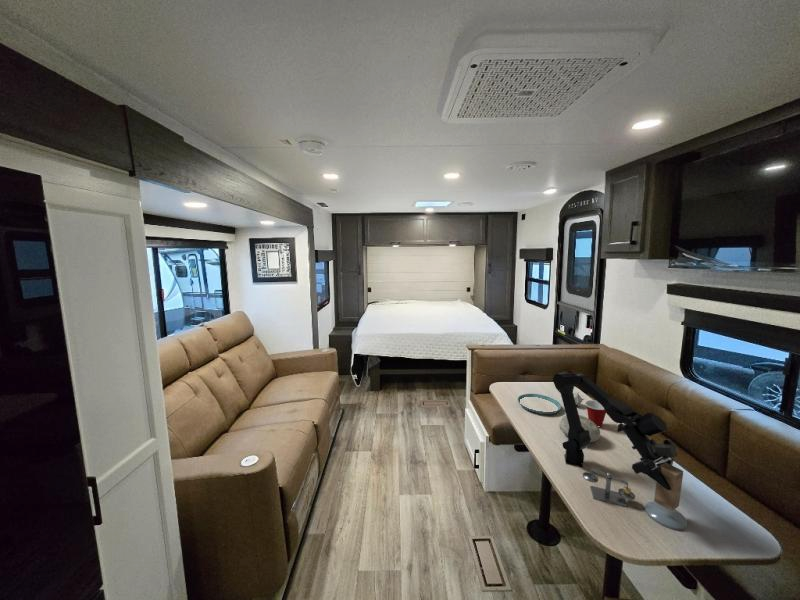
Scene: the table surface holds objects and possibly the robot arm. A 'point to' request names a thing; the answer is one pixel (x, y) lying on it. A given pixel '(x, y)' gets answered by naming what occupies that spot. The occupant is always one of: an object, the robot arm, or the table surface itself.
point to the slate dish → (666, 516)
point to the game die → (577, 398)
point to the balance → (608, 489)
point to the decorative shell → (585, 423)
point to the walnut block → (674, 480)
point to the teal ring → (542, 398)
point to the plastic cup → (595, 412)
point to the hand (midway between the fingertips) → (673, 487)
